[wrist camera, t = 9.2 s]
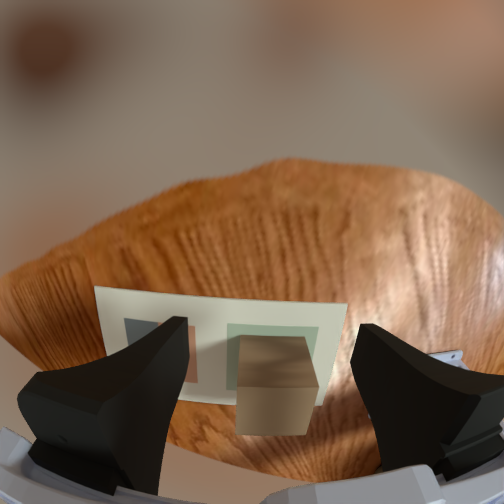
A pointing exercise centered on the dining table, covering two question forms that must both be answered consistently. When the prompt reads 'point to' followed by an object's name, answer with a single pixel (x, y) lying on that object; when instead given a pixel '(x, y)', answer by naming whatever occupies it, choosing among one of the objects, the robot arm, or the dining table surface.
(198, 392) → the placemat
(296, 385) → the walnut block
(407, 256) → the dining table surface
